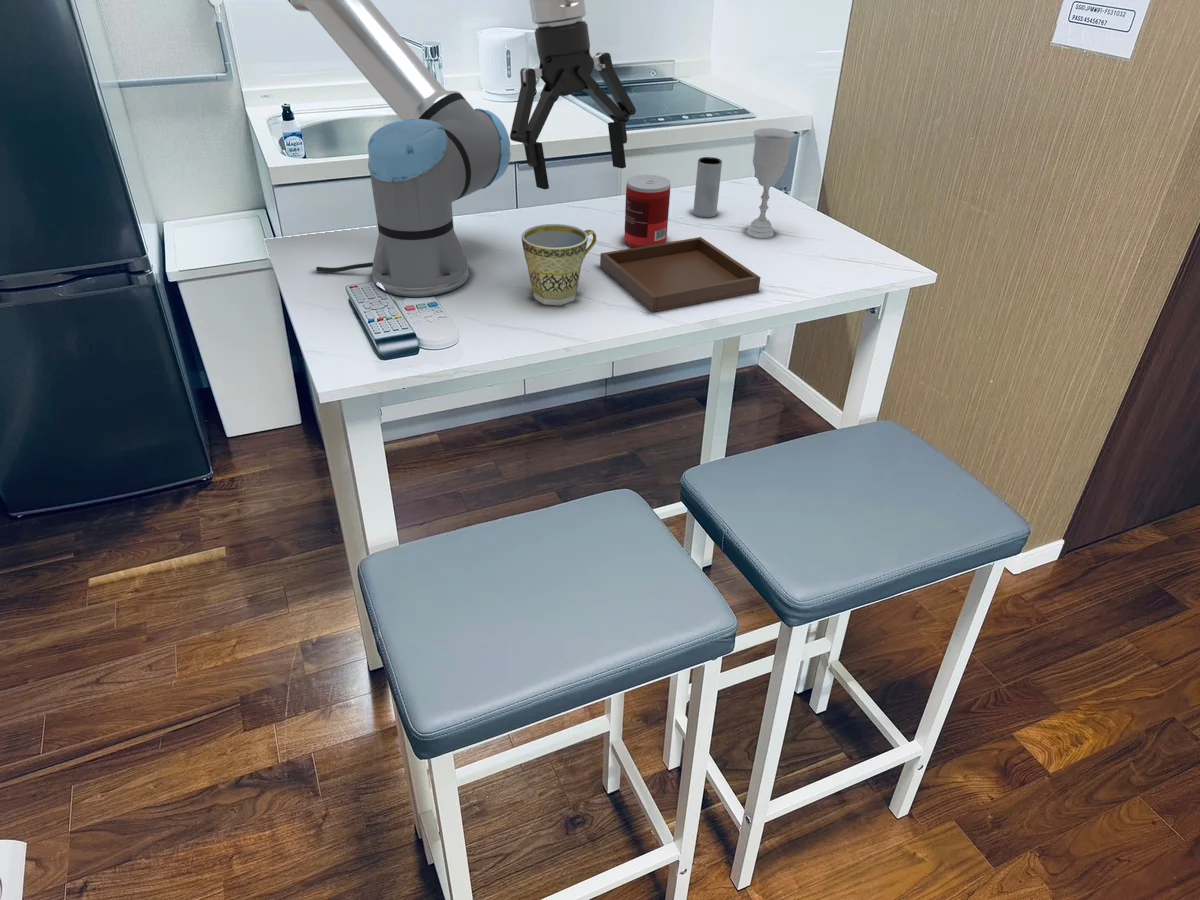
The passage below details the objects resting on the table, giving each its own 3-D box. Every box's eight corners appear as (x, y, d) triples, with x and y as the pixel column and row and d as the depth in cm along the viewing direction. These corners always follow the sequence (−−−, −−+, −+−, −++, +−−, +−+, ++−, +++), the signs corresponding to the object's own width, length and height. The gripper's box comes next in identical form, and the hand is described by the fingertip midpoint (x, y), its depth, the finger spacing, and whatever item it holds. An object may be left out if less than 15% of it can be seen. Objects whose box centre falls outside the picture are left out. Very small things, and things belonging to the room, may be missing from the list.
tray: (651, 312, 128) (652, 297, 127) (599, 267, 142) (600, 253, 140) (758, 291, 135) (760, 277, 134) (699, 250, 149) (700, 236, 147)
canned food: (667, 235, 154) (671, 175, 148) (665, 252, 148) (670, 190, 141) (625, 232, 155) (628, 173, 148) (622, 249, 148) (624, 187, 142)
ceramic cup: (548, 316, 126) (547, 253, 120) (510, 293, 132) (508, 232, 127) (614, 294, 133) (616, 234, 127) (575, 273, 139) (576, 215, 133)
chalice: (749, 241, 153) (763, 139, 142) (734, 228, 158) (746, 129, 148) (786, 237, 155) (802, 137, 144) (770, 224, 160) (784, 127, 149)
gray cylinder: (704, 208, 167) (709, 155, 161) (721, 214, 164) (727, 161, 158) (688, 212, 164) (693, 159, 158) (704, 219, 161) (710, 165, 155)
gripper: (490, 38, 110) (520, 200, 120) (648, 8, 119) (663, 161, 130) (468, 38, 115) (498, 193, 126) (621, 9, 125) (637, 156, 136)
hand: (582, 177), depth 128 cm, fingers open, 13 cm apart
